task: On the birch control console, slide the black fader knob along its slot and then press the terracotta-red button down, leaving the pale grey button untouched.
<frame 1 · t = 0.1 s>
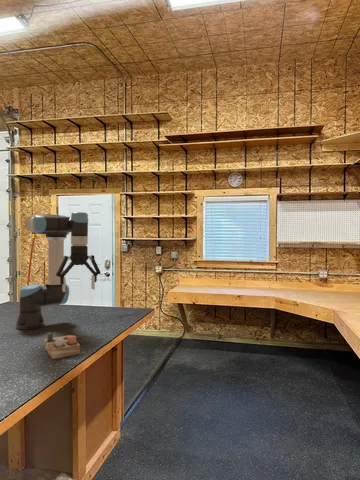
hand: (78, 290, 149), 28 cm above the workbench, fingers open, 13 cm apart
button a: (71, 340, 146), point 5 cm above the workbench, slide at 0.0 cm
button b: (59, 342, 143), point 5 cm above the workbench, slide at 0.0 cm
fader knob: (49, 336, 148), point 6 cm above the workbench, slide at 0.0 cm
console: (61, 350, 147), on the workbench
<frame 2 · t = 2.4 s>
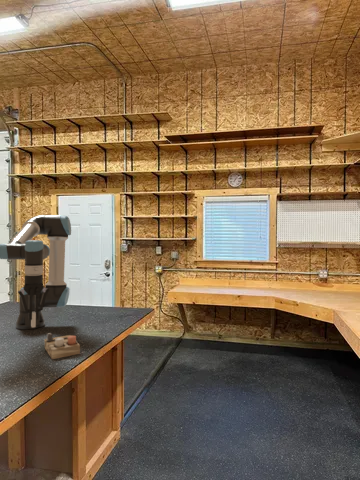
hand: (33, 326, 143), 12 cm above the workbench, fingers closed
nothing on the workbench moved.
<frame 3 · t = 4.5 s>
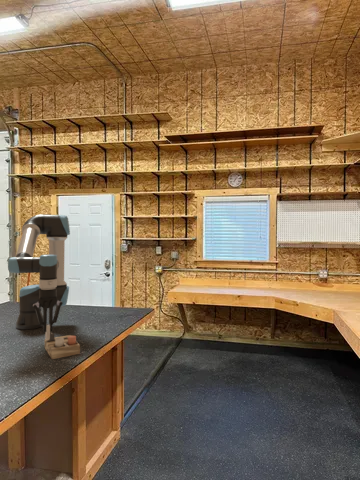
hand: (47, 338, 147), 5 cm above the workbench, fingers closed
fader knob: (51, 336, 148), point 6 cm above the workbench, slide at 0.8 cm, touching gripper
everything else where it was.
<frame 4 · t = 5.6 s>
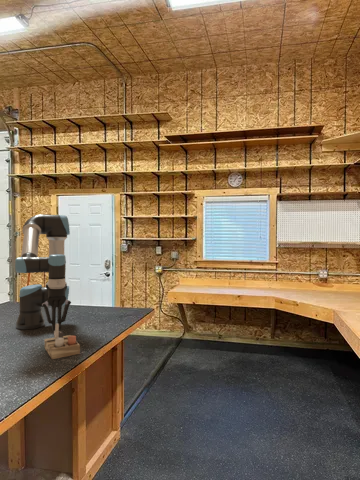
hand: (56, 337, 149), 5 cm above the workbench, fingers closed
fader knob: (60, 335, 150), point 6 cm above the workbench, slide at 4.7 cm, touching gripper
everything else where it was.
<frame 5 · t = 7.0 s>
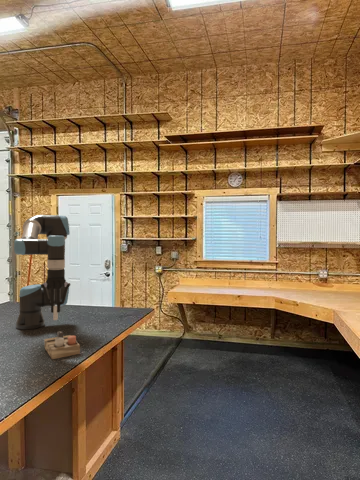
hand: (55, 319, 147), 14 cm above the workbench, fingers closed
fader knob: (60, 335, 150), point 6 cm above the workbench, slide at 4.7 cm
everything else where it was.
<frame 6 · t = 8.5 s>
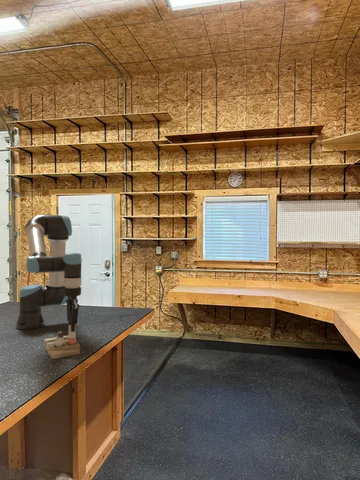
hand: (72, 337, 145), 7 cm above the workbench, fingers closed
button a: (71, 341, 146), point 5 cm above the workbench, slide at 0.7 cm, touching gripper
everything else where it was.
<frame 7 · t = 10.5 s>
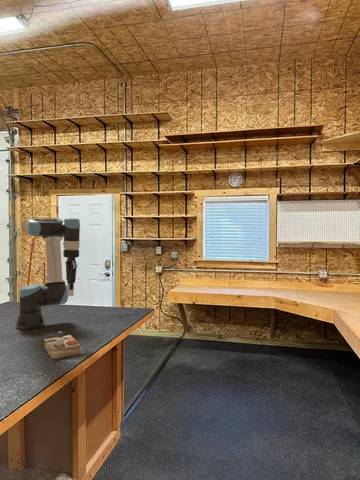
hand: (70, 295, 160), 23 cm above the workbench, fingers closed
button a: (71, 343, 146), point 4 cm above the workbench, slide at 1.4 cm
everything else where it was.
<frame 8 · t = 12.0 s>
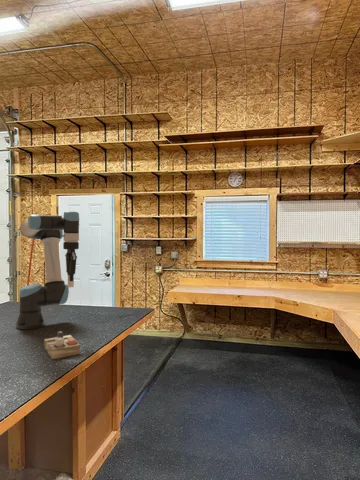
hand: (70, 287, 164), 26 cm above the workbench, fingers closed
nothing on the workbench moved.
at the end: fader knob slide at 4.7 cm; button a slide at 1.4 cm; button b slide at 0.0 cm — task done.
